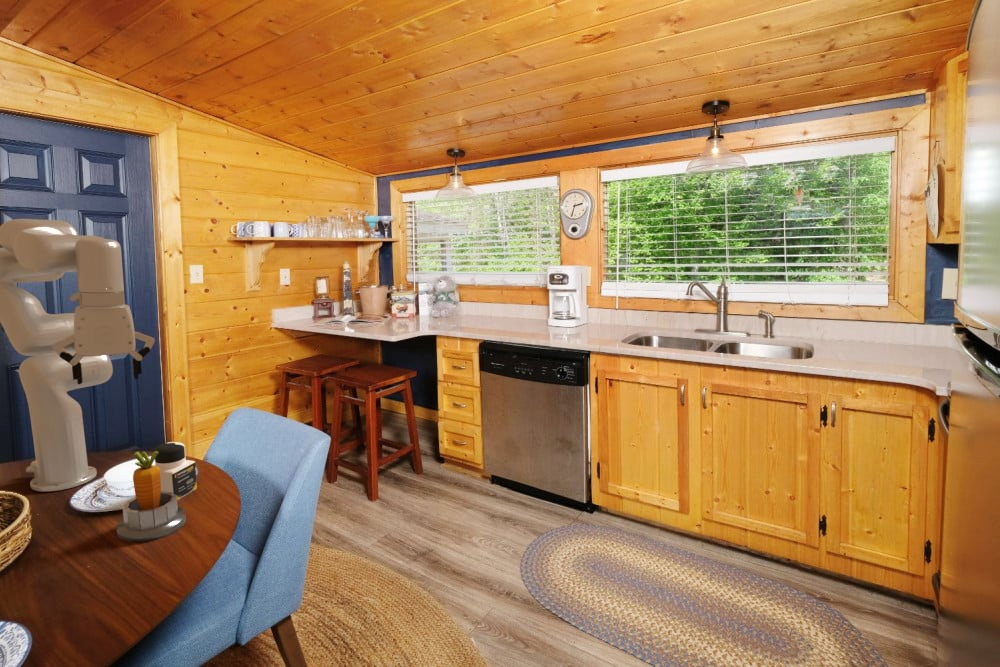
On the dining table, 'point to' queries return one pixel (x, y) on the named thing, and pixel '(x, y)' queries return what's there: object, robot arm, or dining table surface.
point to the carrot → (147, 482)
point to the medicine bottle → (175, 469)
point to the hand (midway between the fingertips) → (108, 379)
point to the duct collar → (151, 520)
